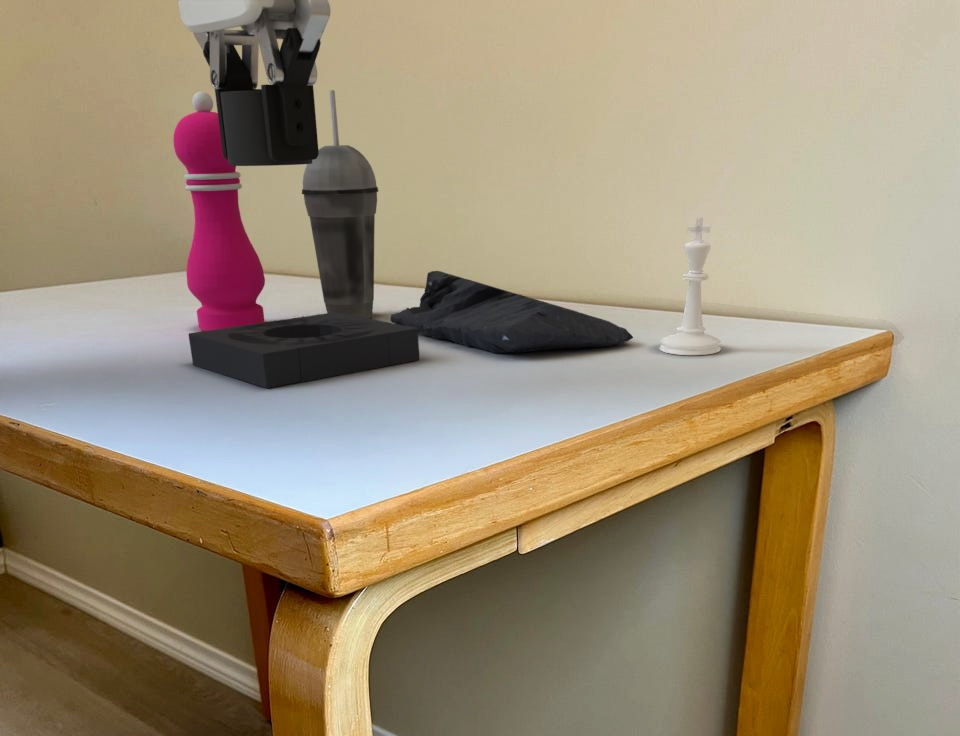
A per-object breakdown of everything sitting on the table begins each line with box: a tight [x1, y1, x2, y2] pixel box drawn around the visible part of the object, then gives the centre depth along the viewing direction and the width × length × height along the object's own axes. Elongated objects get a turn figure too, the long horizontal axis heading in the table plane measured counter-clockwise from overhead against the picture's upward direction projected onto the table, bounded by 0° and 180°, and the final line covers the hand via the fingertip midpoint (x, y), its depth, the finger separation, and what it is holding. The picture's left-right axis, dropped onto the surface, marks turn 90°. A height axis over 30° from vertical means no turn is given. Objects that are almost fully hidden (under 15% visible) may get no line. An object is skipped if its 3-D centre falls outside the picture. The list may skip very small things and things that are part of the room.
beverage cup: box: [301, 89, 379, 319], centre depth 96 cm, size 7×7×20 cm
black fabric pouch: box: [389, 270, 634, 354], centre depth 89 cm, size 15×22×5 cm
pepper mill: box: [172, 90, 266, 331], centre depth 93 cm, size 7×7×20 cm
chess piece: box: [659, 216, 722, 356], centre depth 80 cm, size 5×5×10 cm
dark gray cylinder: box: [220, 90, 313, 167], centre depth 62 cm, size 5×5×4 cm
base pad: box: [188, 312, 420, 389], centre depth 81 cm, size 14×12×2 cm
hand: (269, 156), depth 63 cm, fingers closed on dark gray cylinder, 5 cm apart
